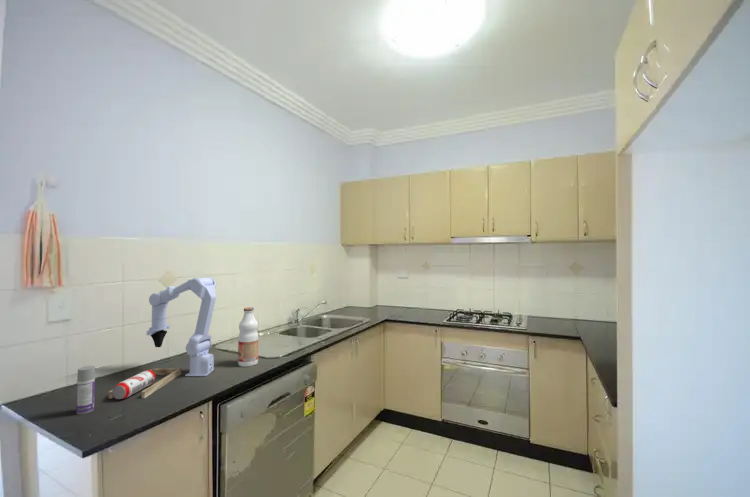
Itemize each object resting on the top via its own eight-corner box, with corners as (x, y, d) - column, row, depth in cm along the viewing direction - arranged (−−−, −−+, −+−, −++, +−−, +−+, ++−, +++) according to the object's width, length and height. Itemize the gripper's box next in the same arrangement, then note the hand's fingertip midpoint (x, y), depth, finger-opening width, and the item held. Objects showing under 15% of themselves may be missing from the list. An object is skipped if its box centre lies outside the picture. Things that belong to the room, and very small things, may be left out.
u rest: (181, 374, 150) (181, 368, 150) (144, 398, 125) (144, 391, 125) (151, 374, 150) (151, 368, 150) (108, 398, 125) (108, 391, 125)
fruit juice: (250, 367, 159) (251, 309, 160) (233, 366, 161) (234, 309, 162) (261, 361, 168) (262, 306, 169) (245, 360, 170) (246, 306, 171)
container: (83, 408, 117) (84, 365, 117) (97, 407, 117) (98, 365, 117) (72, 414, 112) (73, 370, 112) (87, 414, 112) (88, 370, 113)
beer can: (155, 385, 139) (125, 402, 123) (141, 382, 139) (109, 399, 123) (158, 370, 139) (128, 385, 123) (144, 367, 139) (112, 382, 123)
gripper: (159, 315, 164) (159, 342, 164) (140, 321, 150) (139, 351, 149) (174, 315, 164) (173, 342, 164) (155, 321, 150) (155, 351, 150)
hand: (158, 346), depth 157 cm, fingers closed
